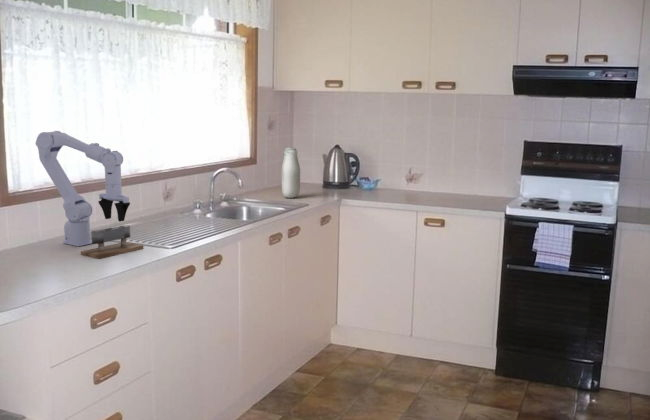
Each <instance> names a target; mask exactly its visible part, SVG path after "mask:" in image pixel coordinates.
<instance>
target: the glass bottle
mask: <svg viewBox="0 0 650 420" xmlns="http://www.w3.org/2000/svg"><path fill="white" fill-rule="evenodd" d="M298 158H299V157H298V150H297V148H296V147H289V146H288V147H286V148H284V151H283V160H282V165H281V172H280V173H281V175H280V176H281V193H282V195H283V196H284V198H288V199H295V198H296V197H298V196H299V194H300V191H301V168H300V163H299V159H298Z"/></svg>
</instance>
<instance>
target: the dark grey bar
mask: <svg viewBox="0 0 650 420" xmlns="http://www.w3.org/2000/svg"><path fill="white" fill-rule="evenodd" d="M90 235H91V241H92V244H94V245H98V244H100V243H104V244H105V243H109V242H114V241H117V240H121V239H123V238H126V239H129V238H131V225H126V224H125V225H124V224H123V225H119V226H115V227H108V228H104V229H103V228H102V229H99V230H92V231H90Z"/></svg>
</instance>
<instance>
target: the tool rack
mask: <svg viewBox="0 0 650 420" xmlns="http://www.w3.org/2000/svg"><path fill="white" fill-rule="evenodd" d="M143 249H144V245H143V244H142V245H141V244H139V243H138V244H137V243H132V242H128V241H127V238H123V239H120V242H117V243H114V244H109V245H105V242H104V243H100V244H97V247H95V248H91V249H85V250H81V251H80V255H81V256H86V257H88V258H93V259H98V260H99V259H100V260H101V259H104V258H109V257H113V256H117V255H122V254H125V253H131V252H135V251H139V250H143Z"/></svg>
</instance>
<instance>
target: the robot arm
mask: <svg viewBox="0 0 650 420" xmlns="http://www.w3.org/2000/svg"><path fill="white" fill-rule="evenodd" d="M35 145H36V147H37V150H38V156H39V157H38V158H39V161H40V163H41V164H42V166H43V168H44V169H45V171H46V173H47V175H48V176H49V178H50V180H51V181H52V183H53V185H54V186H55V187H56V189H57V191H58V193H59V194H60V196H61V198H62V199H63V204H62V207H63V210H64V212H65V217H66V218H67V220H66V222H65V223H64V228H63V229H64V241H62V244H65V245H69V246H74V247H81V246H86V245H92V244H93V243H92V240H91V227H90V224H91V223H90V222H91V221H90V217H91V215H92V214H93V207H92V205H91V203H90V202H88V201H87V200H86V199H85V198H84V196H82V195H80V194H78V192H77V190H76V188H75V187H74V186H73V184H72V182H71V180H70V179H69V177H68V176H67V173H66V172H65V170H64V169H63V167H62V166H61V164H60V162H59V160H58V158H57V156H58V154H59V152H61V151H60V150H61V149H62V148H63V147H64V146H65V147H69V148H71V149H74V150H76V151H78V152H82V153H84V154H85V157H86V158H89V160H92V161H96V162H97V163H100V164H102V166H103V167H104V179H105V182H104V183H105V193H99V194H98V197H99V200H98V204H99V206H100V208H101V210H102V212H103V215H104V218H105V220H109V219H112V210H113V209H112V208H113V203H114V206H115V208H116V213H117V220H118V222H125V219H126V214H127V211H128V209H129V206H130V205H131V202H130V198H129V196H125V195H123V193H122V192H123V191H122V190H123V189H122V172H121V171H122V164H123V163H124V156H123V154H122V153H121V152H119V151H118V150H113V151H112V150H111V148H109V147H107V148H105V147H104V146H101V145H100V143H98V142H94V143H89V144H88V143H86V142H84V141H82V140H80V139H77V138H75V137H74V136H71V135H69V134H68V133H65V132H62V131H60V130H54V131H47V132H46V131H43V132H40V133H39V134H38V135H37V137H36V141H35Z"/></svg>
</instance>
